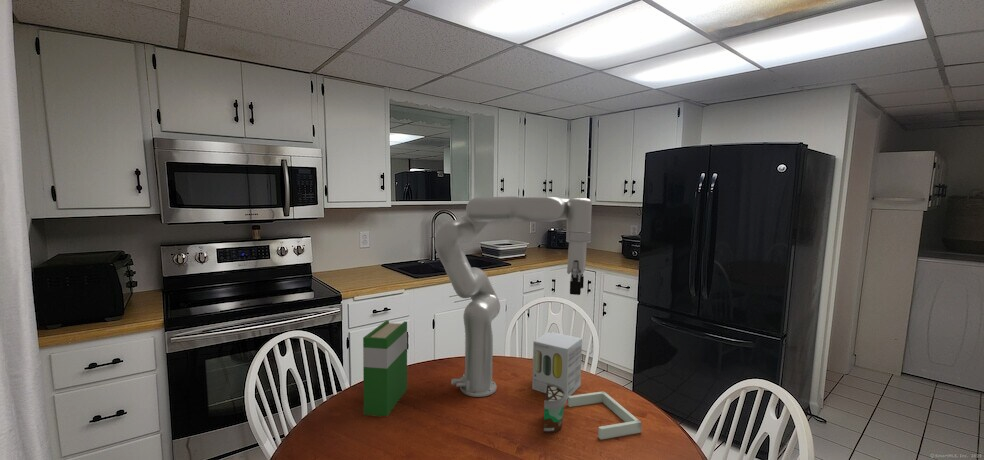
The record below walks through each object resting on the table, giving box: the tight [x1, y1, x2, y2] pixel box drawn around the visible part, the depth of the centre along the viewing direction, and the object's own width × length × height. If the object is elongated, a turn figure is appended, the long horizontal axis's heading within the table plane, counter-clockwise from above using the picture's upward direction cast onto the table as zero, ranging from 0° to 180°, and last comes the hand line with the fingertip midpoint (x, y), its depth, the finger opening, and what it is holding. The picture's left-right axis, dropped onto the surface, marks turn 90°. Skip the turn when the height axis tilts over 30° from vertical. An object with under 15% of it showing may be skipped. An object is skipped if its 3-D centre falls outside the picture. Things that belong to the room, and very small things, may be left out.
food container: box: [543, 383, 568, 435], centre depth 116 cm, size 12×6×10 cm, turn 168°
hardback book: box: [362, 320, 408, 417], centre depth 128 cm, size 18×7×24 cm, turn 173°
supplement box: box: [532, 331, 583, 400], centre depth 140 cm, size 13×13×18 cm
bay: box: [567, 391, 643, 440], centre depth 121 cm, size 13×19×3 cm
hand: (576, 291), depth 126 cm, fingers open, 9 cm apart
